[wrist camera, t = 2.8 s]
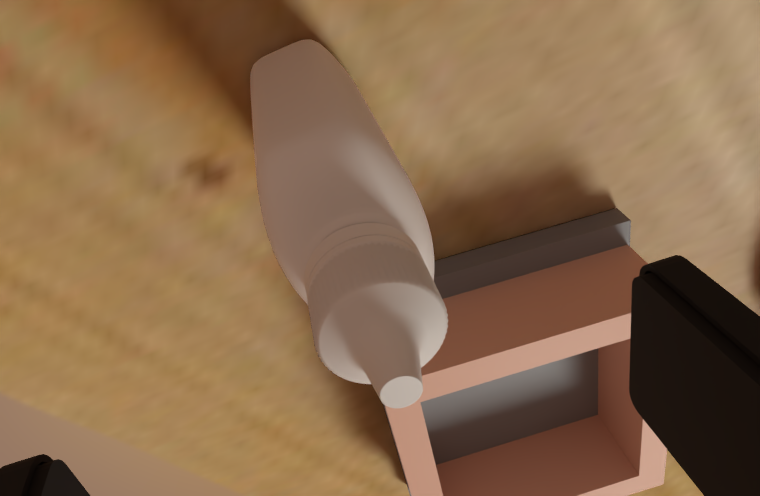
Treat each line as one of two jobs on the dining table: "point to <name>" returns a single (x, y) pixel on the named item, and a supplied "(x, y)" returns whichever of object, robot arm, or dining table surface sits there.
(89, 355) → the dining table surface
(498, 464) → the socket stand
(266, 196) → the squeeze bottle
